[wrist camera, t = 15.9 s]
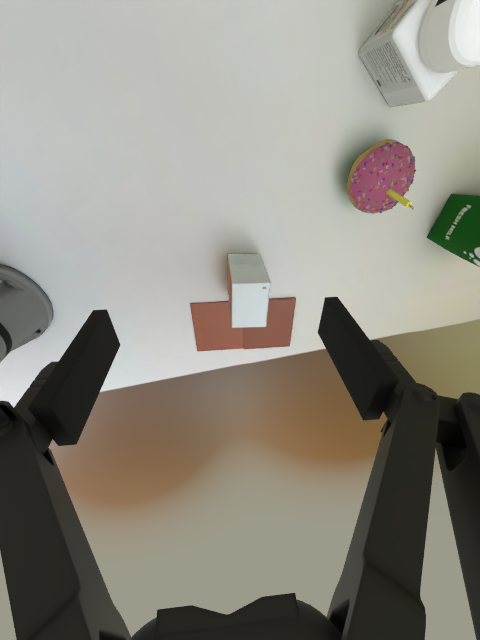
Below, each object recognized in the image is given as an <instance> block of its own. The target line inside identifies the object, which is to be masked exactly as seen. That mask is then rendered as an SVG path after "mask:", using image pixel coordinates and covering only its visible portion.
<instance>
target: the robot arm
mask: <svg viewBox="0 0 480 640" xmlns="http://www.w3.org/2000/svg"><path fill="white" fill-rule="evenodd" d="M52 318H53V310H52V306H51V303H50V301H49V299H48V297H47V296H46V294H45V293H44V292H43V291H42V289H41V288H40V287H39V286H38V285H37V284H35V283H34V282H33V281H32V280H31V279H29V278H28V277H26V276H25V275H23V274H21V273H20V272H18V271H16V270H14V269H12V268H9V267H7V266H4V265H0V362H1V361H2V360H3V359H4V358H5V356H6V355H7V354H8V353H9V352H10V351H12V350H14V349H16V348H18V347H20V346H22V345H24V344H26V343H28V342H29V341H31V340H33V339H35V338H37V337H39V336H40V335H41V334H43V332H44V331H45V330H46V329H47V328H48V326H49V325H50V324H51V321H52ZM318 334H319V336H320V338H321V339H322V341H323V343H324V345H325V347H326V349H327V351H328V353H329V355H330V357H331V359H332V360H333V363H334V365H335V366H336V368H337V370H338V372H339V374H340V376H341V378H342V380H343V382H344V384H345V386H346V388H347V390H348V392H349V393H350V395H351V397H352V399H353V401H354V403H355V405H356V407H357V409H358V411H359V413H360V415H361V417H362V419H363V420H374V419H379V418H380V416H381V414H382V412H384V413H385V415H386V417H387V418H388V419H387V421H386V423H385V424H384V426H383V428H382V430H381V432H382V437H381V440H380V443H379V447H378V451H377V454H376V457H375V461H374V464H373V468H372V471H371V475H370V478H369V482H368V485H367V488H366V492H365V495H364V499H363V502H362V506H361V509H360V513H359V516H358V520H357V523H356V527H355V530H354V534H353V537H352V540H351V544H350V547H349V551H348V554H347V558H346V561H345V565H344V568H343V572H342V575H341V577H340V580H339V582H338V585H337V587H336V589H335V592H334V595H333V598H332V601H331V604H330V608H329V611H328V614H327V617H326V616H324V615H323V614H322V613H321V612H320V611H318V610H317V609H315V608H314V607H312V606H311V605H309V604H306V603H304V602H303V601H300V600H296V596H295V593H290V594H282V595H274V596H266V597H261V598H259V599H257V600H256V601H254V602H252V603H250V604H248V605H246V606H244V607H243V608H241V609H239V610H237V611H235V612H233V613H231V614H228V615H225V614H221V613H217V612H214V611H210V610H207V609H203V608H199V607H196V606H184V607H175V608H167V609H160V610H158V611H157V617H156V618H155V619H153V620H151V621H150V622H148V623H147V624H146V625H144V626H143V627H142V628H141V629H140V630H138V631H137V632H136V633H135V634H134V635H133V636H132V637H131V636H130V634H129V631H128V629H127V627H126V625H125V623H124V620H123V619H122V617H121V615H120V613H119V612H118V610H117V609H116V607H115V606H114V604H113V602H112V600H111V598H110V595H109V593H108V590H107V588H106V585H105V583H104V581H103V578H102V575H101V573H100V570H99V568H98V565H97V563H96V561H95V558H94V555H93V553H92V551H91V548H90V546H89V543H88V541H87V538H86V536H85V533H84V531H83V528H82V526H81V523H80V521H79V519H78V516H77V513H76V511H75V508H74V506H73V504H72V501H71V499H70V496H69V494H68V491H67V489H66V486H65V484H64V481H63V479H62V476H61V474H60V471H59V469H58V467H57V464H56V462H55V459H54V457H53V454H52V452H51V450H50V449H49V448H48V447H49V445H50V443H51V441H52V439H53V440H54V441H55V442H56V443H57V445H58V446H63V445H74V444H77V442H78V440H79V437H80V435H81V433H82V431H83V428H84V426H85V424H86V421H87V419H88V417H89V415H90V412H91V410H92V408H93V405H94V403H95V401H96V399H97V397H98V394H99V392H100V390H101V387H102V385H103V383H104V381H105V378H106V376H107V374H108V372H109V369H110V367H111V365H112V362H113V360H114V358H115V356H116V353H117V351H118V349H119V347H120V343H119V340H118V338H117V335H116V332H115V330H114V327H113V325H112V322H111V319H110V317H109V314H108V312H107V310H93V312H92V313H91V315H90V316H89V318H88V319H87V321H86V322H85V323H84V325H83V326H82V328H81V329H80V331H79V332H78V334H77V335H76V337H75V338H74V340H73V341H72V343H71V344H70V346H69V347H68V349H67V350H66V352H65V353H64V355H63V356H62V357H61V359H60V360H59V362H51V363H50V364H48V365H47V366H46V367H45V368H43V369H42V370H41V371H40V373H39V374H38V376H37V377H36V378H35V381H33V382H32V384H31V385H30V388H28V389H27V391H26V392H25V393H24V395H23V396H22V398H21V399H20V400H19V402H18V403H17V404H16V406H15V407H14V408H13V407H12V405H11V404H10V403H9V402H7V401H0V550H1V556H2V562H3V567H4V573H5V578H6V584H7V589H8V594H9V600H10V605H11V611H12V616H13V621H14V627H15V633H16V637H17V640H425V639H424V638H425V629H426V614H425V607H424V605H423V603H422V601H421V598H420V585H421V575H422V566H423V558H424V549H425V540H426V530H427V521H428V512H429V503H430V494H431V485H432V476H433V466H434V457H435V448H436V450H437V455H438V459H439V464H440V469H441V473H442V478H443V483H444V488H445V492H446V497H447V501H448V507H449V511H450V516H451V521H452V526H453V530H454V535H455V540H456V545H457V549H458V554H459V559H460V564H461V568H462V573H463V578H464V582H465V587H466V592H467V596H468V601H469V606H470V611H471V616H472V620H473V625H474V630H475V634H476V639H477V640H480V395H479V394H476V393H463V394H462V395H461V397H460V398H459V399H453V398H449V397H443V396H438V395H437V394H436V392H434V391H433V390H432V389H431V388H429V387H427V386H425V385H422V384H419V383H416V382H415V380H414V379H413V378H412V377H411V376H410V374H409V373H408V372H407V371H406V369H405V368H404V367H403V366H402V364H401V363H400V362H399V361H398V359H397V358H396V357H395V356H394V355H393V353H392V352H391V351H390V349H389V348H388V347H387V346H386V345H384V344H383V343H381V342H380V341H379V340H371V341H370V340H369V339H368V337H367V336H366V335H365V333H364V332H363V331H362V329H361V328H360V327H359V325H358V324H357V323H356V321H355V320H354V319H353V317H352V316H351V315H350V313H349V312H348V311H347V309H346V308H345V307H344V305H343V304H342V303H341V301H340V300H339V299H338V297H328V298H325V301H324V306H323V311H322V315H321V320H320V325H319V330H318Z"/></svg>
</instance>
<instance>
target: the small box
mask: <svg viewBox="0 0 480 640" xmlns="http://www.w3.org/2000/svg"><path fill="white" fill-rule="evenodd" d="M270 287H271V281H270V279H269V276H268V273H267V271H266V268H265V265H264V263H263V260H262V258H261V255H260V254H228V295H229V306H230V318H231V327H232V328H243V327H266V325H267V311H268V302H269V293H270Z"/></svg>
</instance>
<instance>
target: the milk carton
mask: <svg viewBox="0 0 480 640" xmlns="http://www.w3.org/2000/svg"><path fill="white" fill-rule="evenodd" d="M427 238H428V239H430V240H432V241H433V242H435V243H437V244H438V245H440V246H441V247H443V248H445V249H446V250H448V251H450V252H451V253H453V254H455V255H457V256H459V257H461V258H463V259H465V260H467V261H469V262H471V263H473V264H475V265H477V266H479V267H480V196H474V195H455V194H451V196H450V198H449V199H448V201H447V203H446V205H445V207H444V208H443V210H442V212H441V214H440V216H439V217H438V219H437V221H436V223H435V225H434V226H433V228H432V230H431V232H430V234H429V235H428V237H427Z"/></svg>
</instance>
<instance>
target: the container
mask: <svg viewBox="0 0 480 640" xmlns="http://www.w3.org/2000/svg"><path fill="white" fill-rule="evenodd" d="M359 56H360V57H361V59H362V61H363V62H364V64H365V66H366V68H367V69H368V71H369V73H370V74H371V76H372V78H373V79H374V81H375V83H376V84H377V86H378V88H379V89H380V91H381V93H382V95H383V96H384V98H385V100H386V101H387V103H388V105H389V106H390V107H394V106H400V105H407V104H414V103H421V102H428V101H430V100H431V99H432V98H433V97H434V96H435V95H436V94H437V93H438V92H439V91H440V90H441V89H442V88H443V87H444V86H445V85H446V84H447V83H448V82H449V81H450V80H451V79H452V77H453V76H454V75H455V74H456V73H457V72H458V71H459V70H460V69H464V68H468V67H472V66H476V65H479V64H480V0H398V2H397V3H396V4H395V5H394V7H393V8H392V9H391V10H390V12H389V13H388V14H387V16H386V17H385V18H384V19H383V21H382V22H381V23H380V24H379V26H378V27H377V28H376V30H375V31H374V32H373V33H372V35H371V36H370V37H369V38H368V40H367V41H366V42H365V44H364V45H363V46H362V47H361V49H360V50H359Z"/></svg>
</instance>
